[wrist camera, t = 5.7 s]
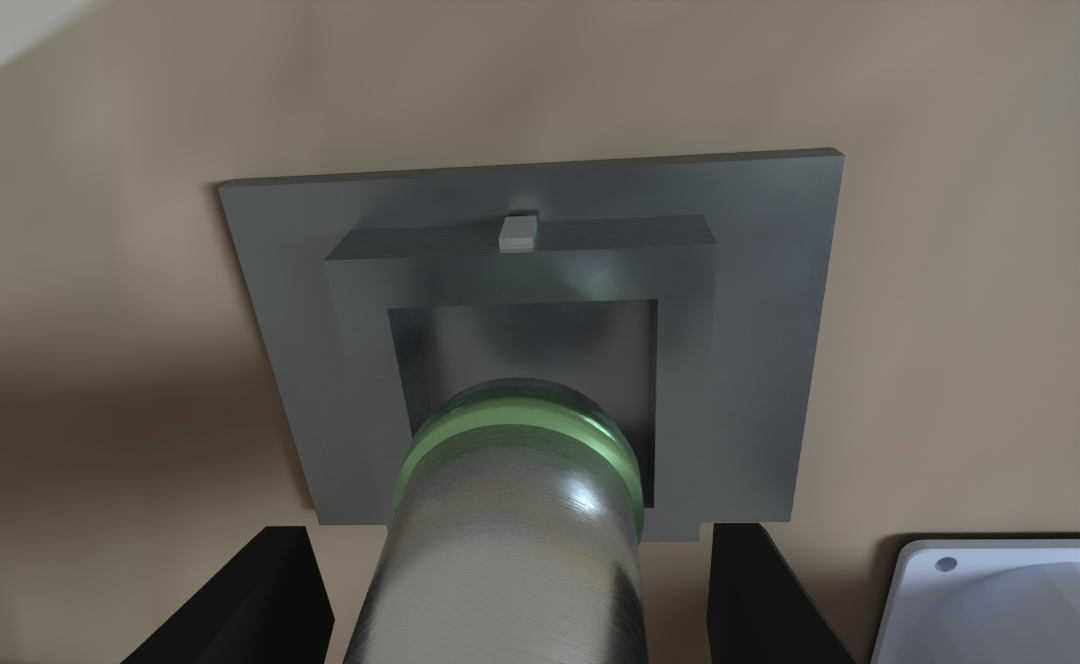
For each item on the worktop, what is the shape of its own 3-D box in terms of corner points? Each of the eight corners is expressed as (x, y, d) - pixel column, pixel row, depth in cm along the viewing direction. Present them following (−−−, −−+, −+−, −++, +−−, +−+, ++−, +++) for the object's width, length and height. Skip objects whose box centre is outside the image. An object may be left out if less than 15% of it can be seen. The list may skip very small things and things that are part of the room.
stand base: (833, 147, 13) (879, 178, 11) (783, 504, 17) (809, 573, 15) (231, 179, 14) (173, 213, 12) (327, 508, 18) (296, 573, 16)
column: (638, 366, 11) (683, 684, 6) (638, 548, 13) (671, 900, 8) (393, 372, 11) (246, 680, 6) (429, 549, 13) (338, 886, 8)
